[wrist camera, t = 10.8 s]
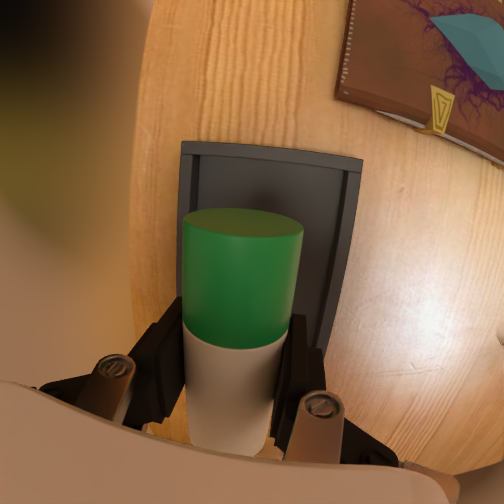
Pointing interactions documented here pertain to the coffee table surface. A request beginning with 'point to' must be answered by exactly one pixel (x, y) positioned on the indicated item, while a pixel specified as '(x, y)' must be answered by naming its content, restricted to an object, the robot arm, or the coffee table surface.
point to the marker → (235, 321)
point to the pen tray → (282, 211)
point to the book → (429, 67)
